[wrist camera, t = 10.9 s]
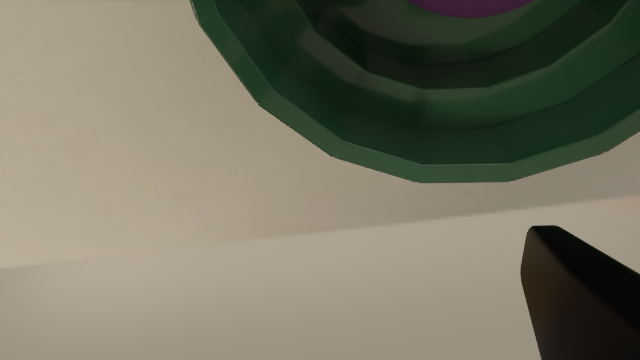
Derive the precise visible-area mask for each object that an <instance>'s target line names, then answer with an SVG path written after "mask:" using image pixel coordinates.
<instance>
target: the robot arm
mask: <svg viewBox="0 0 640 360" xmlns="http://www.w3.org/2000/svg"><path fill="white" fill-rule="evenodd" d="M521 282H522V286H523V290H524V294H525V297H526V302H527V305H528V309H529V313H530V317H531V321H532V325H533V329H534V333H535V336H536V340H537V344H538V348H539V352H540V355H541V359H542V360H640V274H639V273H637V272H635V271H633V270H632V269H630V268H628V267H627V266H625V265H623V264H622V263H620V262H618V261H616V260H615V259H613V258H611V257H610V256H608V255H606V254H604V253H603V252H601V251H599V250H598V249H596V248H594V247H593V246H591V245H589V244H588V243H586V242H584V241H583V240H581V239H579V238H577V237H576V236H574V235H572V234H570V233H569V232H567V231H566V230H564V229H562V228H560V227H558V226H554V225H551V226H532V227H531V228H529V230H528V232H527V235H526V241H525V246H524V252H523V257H522V264H521Z"/></svg>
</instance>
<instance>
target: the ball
mask: <svg viewBox="0 0 640 360" xmlns="http://www.w3.org/2000/svg"><path fill="white" fill-rule="evenodd" d="M407 1H409V2H410V3H412V4H414V5H416V6H418V7H420V8H422V9H424V10H426V11H430V12H433V13H436V14H439V15H445V16H451V17H457V18H480V17H489V16H493V15H498V14H502V13H506V12H508V11H511V10H514V9H517V8H519V7H522V6H524V5H526V4H528V3H530V2H532V1H534V0H407Z"/></svg>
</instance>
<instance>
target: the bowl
mask: <svg viewBox="0 0 640 360" xmlns="http://www.w3.org/2000/svg"><path fill="white" fill-rule="evenodd" d="M190 3H191V6H192V9H193V12H194V15H195V18H196V20H197V21H198V23H199V25H200V27H201V28H202V29H203V31H204V32H205V33H206V35H207V36H208V37H209V39H210V40H211V41H212V43H213V44H214V46H215V47H216V48H217V50H218V51H219V52H220V54H221V55H222V56H223V58H224V59H225V61H226V62H227V63H228V65H229V66H230V67H231V69H232V70H233V71H234V73H235V74H236V75H237V77H238V78H239V80H240V81H241V82H242V84H243V85H244V86H245V88H246V89H247V90H248V92H249V93H250V94H251V96H252V97H253V99H254V100H255V101H256V102H257V103H258V105H259V106H260V107H262V108H263V109H265V110H266V111H268V112H269V113H270V114H272V115H273V116H275V117H276V118H277V119H279V120H280V121H282V122H283V123H285V124H286V125H287V126H289V127H290V128H292V129H293V130H294V131H296V132H297V133H299V134H300V135H302V136H303V137H304V138H306V139H307V140H309V141H310V142H311V143H313V144H314V145H316V146H317V147H319V148H320V149H321V150H323V151H324V152H326V153H327V154H328V155H330V156H331V157H333V156H334V157H335V158H337V159H340V160H344V161H347V162H350V163H354V164H357V165H360V166H363V167H367V168H370V169H373V170H377V171H380V172H383V173H387V174H390V175H393V176H397V177H400V178H403V179H407V180H410V181H413V182H419V183H471V182H509V181H514V180H518V179H521V178H524V177H527V176H531V175H534V174H537V173H541V172H544V171H547V170H550V169H554V168H557V167H560V166H564V165H567V164H570V163H573V162H577V161H580V160H583V159H587V158H590V157H593V156H596V155H600V154H603V153H604V151H605V152H607V151H609V150H611V149H612V148H614V147H615V146H617V145H619V144H620V143H622V142H623V141H625V140H627V139H628V138H630V137H631V136H633V135H635V134H636V133H638V132H639V131H640V0H534V1H532V2H530V3H528V4H526V5H524V6H522V7H519V8H517V9H514V10H511V11H508V12H506V13H502V14H498V15H493V16H489V17H480V18H457V17H451V16H445V15H439V14H436V13H433V12H430V11H426V10H424V9H422V8H420V7H418V6H416V5H414V4H412V3H410V2H409V1H407V0H190Z"/></svg>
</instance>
